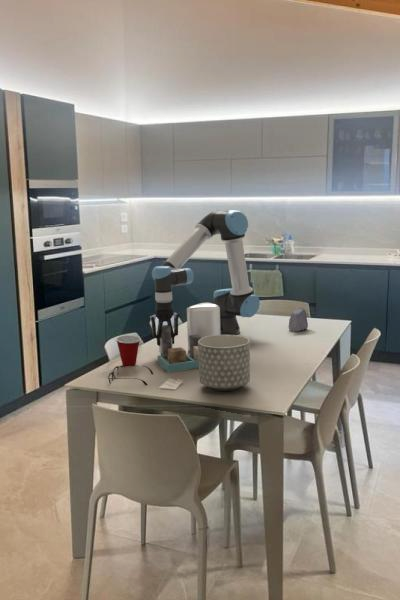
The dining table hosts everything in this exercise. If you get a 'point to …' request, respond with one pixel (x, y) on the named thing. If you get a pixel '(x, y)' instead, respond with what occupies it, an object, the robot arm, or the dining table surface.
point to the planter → (224, 361)
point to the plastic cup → (128, 349)
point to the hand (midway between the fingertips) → (166, 351)
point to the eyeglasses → (125, 378)
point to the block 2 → (194, 346)
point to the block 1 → (172, 353)
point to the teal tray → (179, 364)
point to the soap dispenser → (203, 320)
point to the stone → (298, 320)
